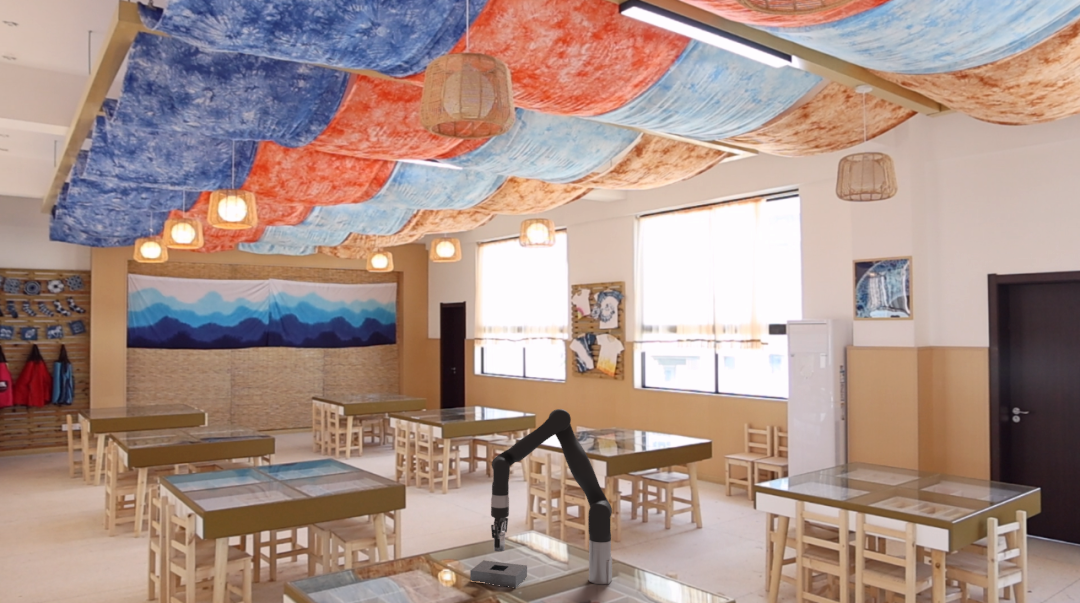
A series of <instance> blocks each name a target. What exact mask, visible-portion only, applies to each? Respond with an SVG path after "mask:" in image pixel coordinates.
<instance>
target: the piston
mask: <svg viewBox="0 0 1080 603" xmlns="http://www.w3.org/2000/svg"><path fill="white" fill-rule="evenodd" d="M498 531H500V530H498ZM498 534H499V533H498ZM494 539H495V538H493V540H494ZM505 550H506V532H505V530H502V533H501V534H500V547H499V548H495V547H494V546H493V551H494V552H498V553H500V552H504V551H505Z"/></svg>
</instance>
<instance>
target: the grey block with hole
mask: <svg viewBox="0 0 1080 603" xmlns="http://www.w3.org/2000/svg"><path fill="white" fill-rule="evenodd" d="M469 577H470V579H469V580H472V581H480V582H485V583H490V584H494V585H500V586H499V587H501V586H509V587H514V588H513V589H517V588H518V587H519V586H520V585H521V584H522V583H523V582H524V581H525V580H526V579H527V578H526V577H528V565H524V564H518V563H510V562H509V563H508V562H499V561H493V560H491V561H490V560H482V561H481V562H479V563H478V564H477V565H476V566H474V567H473V568H472V569H470V575H469ZM525 578H526V579H525ZM524 579H525V580H524ZM523 580H524V581H523ZM522 581H523V582H522ZM521 582H522V583H521ZM520 583H521V584H520ZM519 584H520V585H519ZM518 585H519V586H518ZM517 586H518V587H517ZM509 587H508V588H509ZM516 587H517V588H516Z"/></svg>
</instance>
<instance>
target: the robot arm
mask: <svg viewBox="0 0 1080 603" xmlns="http://www.w3.org/2000/svg"><path fill="white" fill-rule="evenodd" d="M571 421H572V418H571V414H570V413H569V412H568V411H567V410H565V409H563V408H560V409H559V408H556V409H554V410H552V411H551V412H550V413H549V415H548V418H547V419H546V420H545V421H544V422H543V423H542V424H541V425H539V426H538V427H537V428H536V429H535V430H533V431H531V432H530V433H528V434H527V435H525V436H524V437H522V438H521V439H520V440H518V441H517V442H515V443H514V444H513V445H511V447H510V448H507V449H506V450H504V451H503V452H501V453H499V454H498V455H496V456H495V457H494V458H493V459H492V461H491V468H492V470H493V471H492V472H493V479H492V480H493V481H492V484H491V499H490V516H491V517H492V518H493V519H494V521H493V524H491V525H490V529H491V530H490V531H491V538H492V539H493V548H494V547H495V548H499V547H500V534H501V533H502V530H505V533H507V531H508V523H509V518H508V517H509V515H510V496H509V493H510V491H509V488H510V487H509V480H510V473H511V472H510V470H511V466H512V465H513V464H515V463H518V462H521V461H522V460H523V459H525V458H526V457H528V456H529V455H530V454H531V453H532V452H533V451H535V450H536V449H537V448H538V447H539V446H541V445H542V444H543V443H545V441H547V440H549V439H550V438H551V437H553V436H555V437H556V438H557V440H558V442H559V444H560V446H561V450H562V454H563V455H564V458H565V462H566V464H567V466H568V469H569V471H570V473H571V475H572V477H573V479H574V480H575V482H576V483H577V485H578V486H579V487H580V488H581V490H582V491H583V493H584V495H585V497H586V499H587V501H588V502H587V503H588V504H589V510H588V515H587V516H588V517H587V518H588V536H589V537H588V541H589V542H588V545H589V546H588V553H589V554H588V582H590V583H592V584H595V585H610V583H611V581H613V556H612V530H611V520H612V519H611V518H612V514H613V509H612V505H611V503H610V502H609V500H608V498H607V497H606V495H605V493H604V491H603V489H602V488H601V485H600V483H599V480H598V477H597V475H596V473H595V470H594V467H593V465H592V463H591V461H590V459H589V457H588V455H587V453H586V451H585V449H584V448H583V446H582V445H581V443H580V441H579V440H578V439H577V437H576V435H575V432H574V430H573V427H572V424H571ZM498 530H500V531H498ZM498 533H499V534H498ZM494 538H495V539H494Z"/></svg>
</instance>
